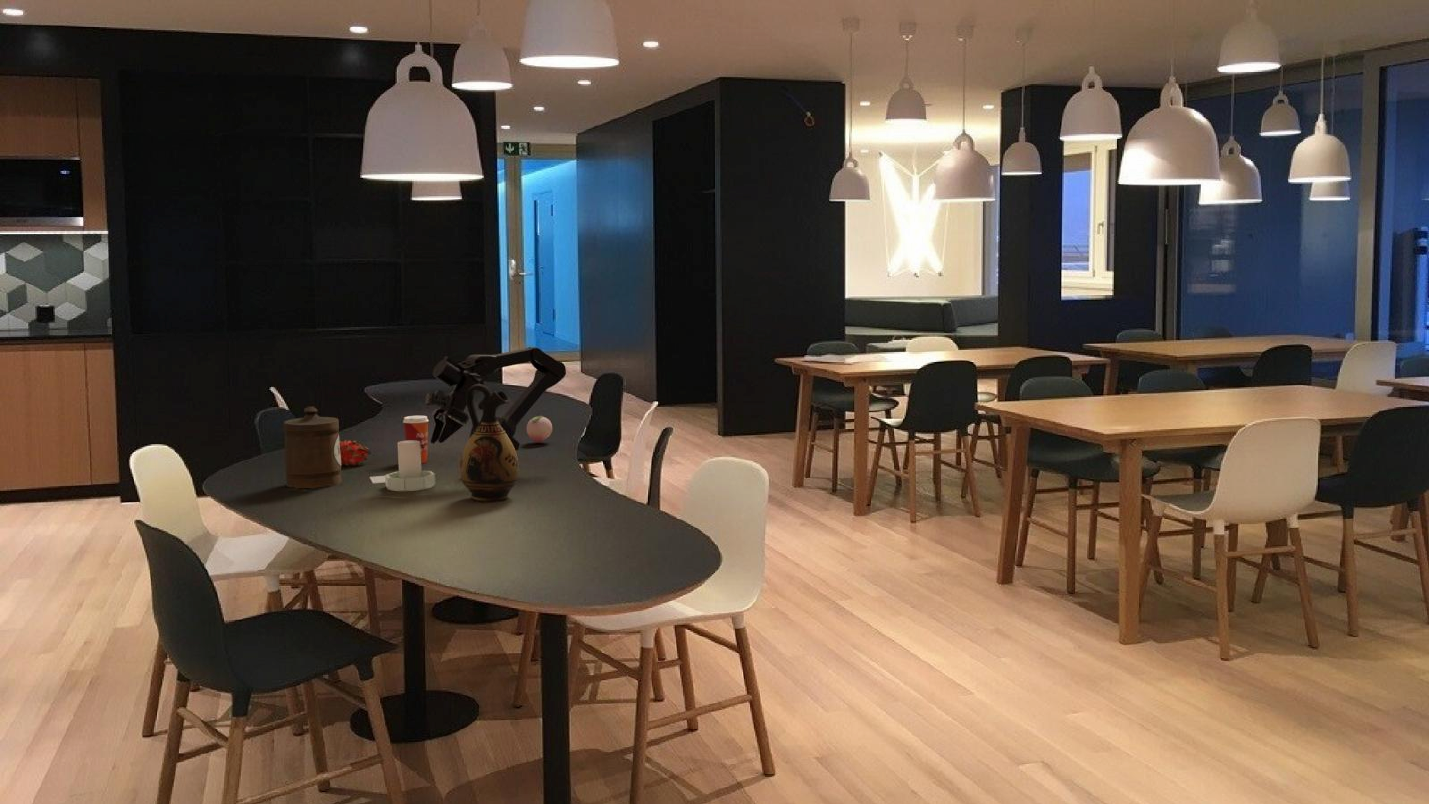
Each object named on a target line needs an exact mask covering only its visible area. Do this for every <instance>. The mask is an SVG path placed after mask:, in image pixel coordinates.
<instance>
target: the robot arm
mask: <svg viewBox="0 0 1429 804" xmlns="http://www.w3.org/2000/svg"><path fill="white" fill-rule="evenodd" d="M525 363H530V364H531V366H532V367H533V368H534V369H536V370H535V373H534V377H533V380H532V382H531V383H530V384H529V385H528V386H527V388H525V390H524V391H523V392H522V393H521V395H520V396H519V397H518V398H517V400H516V401H515V402H514V403H513V404H512V405H511V406H510V407H509V408H508V410H507V411H506V412H505V413H504V414H503V415H502V416H496V419H497V421H498V423H499V424H500V425H501V427H502V428H503V430H504V431H505V432H506V434H507V436H508V437H509V439H510V441H511V442H512V444H513V446H514V448H515V451H516V452H517V451H519V448H520V444H521V443H520V442H519V441H518V440H516V438H514V437H515V434H516V431H517V426H518V425H519V423H520V422H521V421H522V419H524V417H525V416H526V415H527V414H528V413H529V411H530V410H531V409H532V408H533V407H534V406H535V404H537V401H539V400H540V398H542V396H543V394H544V393H545V392H546V391H547V390H549V389H550V388H552V387H554V386H556V385H558V384H559V382H561V381H562V380H563V379H564V378H565V377H566V375H567V368H566V365H565V364H564V363H563V362H562V361H559V360H557V359H556V358H553V357H552V356H550V355H549V354H547V353H546V352H545V351H543V350H542V349H541V348H540V347H536V346H535V347H534V346H527V347H526V348H523V349H516V350H511V351H507V352H502V353H497V354H471V355H468V356H467V358H466V359H465V361H462V362H460V363H458V362H456V361H455V360H453V359H452V357H450V356H444V357H443V359H442V360H440V361H439V362H438V363H437V364H435V366H434V368H433V371H432V376H433V377H434V378H436V379H437V380H439V381H440V382H441V383H444V384H445V385H446V386H448V387H453V386H454V388H453V389H452V391H451V392H449V393H447V395H445V392H444V390H440V389H438V390H436V391H435V393H433V392H427V393H426V398H425V405H426V406H437V407H439V408H437V409H434V410H433V411H432V414H431V420H432V422H433V428H432V429H433V430H432V433H431V437H430V441H429V442H430V444H433V445H434V444H435V443H436V442H438V443H439V444H442V443H444V442H446V440H448V438H450V437H451V436H452V435H454V434H455V433H456V432H457V431H459V430H460V429H461V428H463V427H464V425H467V423H468V421H469V419H470V418H469V417H470V416H469V413H466V412H465V411H466V410H467V409H468V408H467V404H466V402H467V401H466V394H467V391H468V390H469V388H470V387H471V386H473V385H475V384H482V385H485V381H484V378H477V377H476V376H479V377H486V376H488V375H490V374H492V373H495V372H496V371H498V370H499V369H500V370H501V368H506V367H511V366H516V365H521V364H525ZM466 373H467V374H468V375H467V374H466ZM485 386H486V385H485Z"/></svg>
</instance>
